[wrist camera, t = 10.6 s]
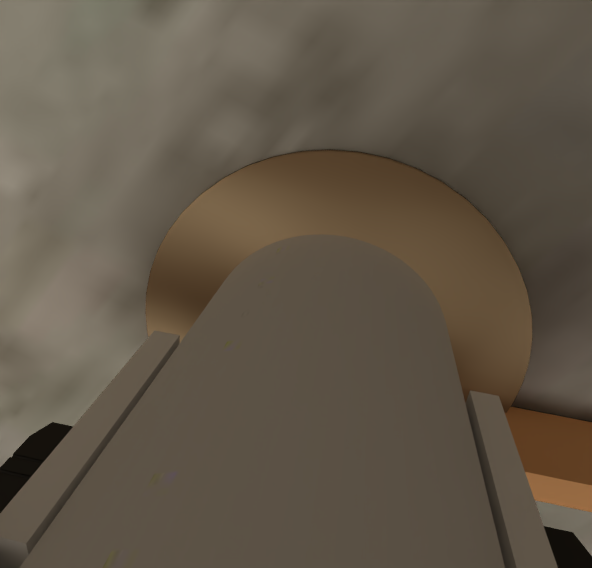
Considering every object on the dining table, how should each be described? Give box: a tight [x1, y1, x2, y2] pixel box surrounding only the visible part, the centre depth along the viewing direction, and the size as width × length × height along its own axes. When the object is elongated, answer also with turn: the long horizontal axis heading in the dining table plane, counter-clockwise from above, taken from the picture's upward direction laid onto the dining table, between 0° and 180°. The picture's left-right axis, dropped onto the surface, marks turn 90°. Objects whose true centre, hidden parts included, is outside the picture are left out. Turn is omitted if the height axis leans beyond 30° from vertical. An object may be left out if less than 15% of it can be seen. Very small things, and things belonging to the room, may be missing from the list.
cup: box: [20, 234, 505, 568], centre depth 11 cm, size 8×8×12 cm
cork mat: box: [146, 150, 532, 413], centre depth 16 cm, size 13×13×1 cm
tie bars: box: [505, 407, 592, 512], centre depth 18 cm, size 12×8×3 cm
